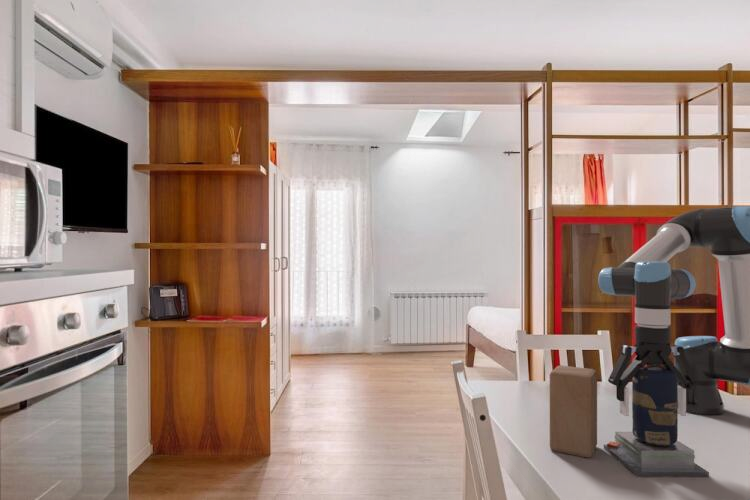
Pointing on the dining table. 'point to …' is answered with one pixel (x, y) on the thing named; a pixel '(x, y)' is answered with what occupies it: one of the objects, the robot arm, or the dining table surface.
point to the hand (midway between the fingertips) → (652, 414)
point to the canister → (655, 405)
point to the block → (573, 410)
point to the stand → (654, 457)
